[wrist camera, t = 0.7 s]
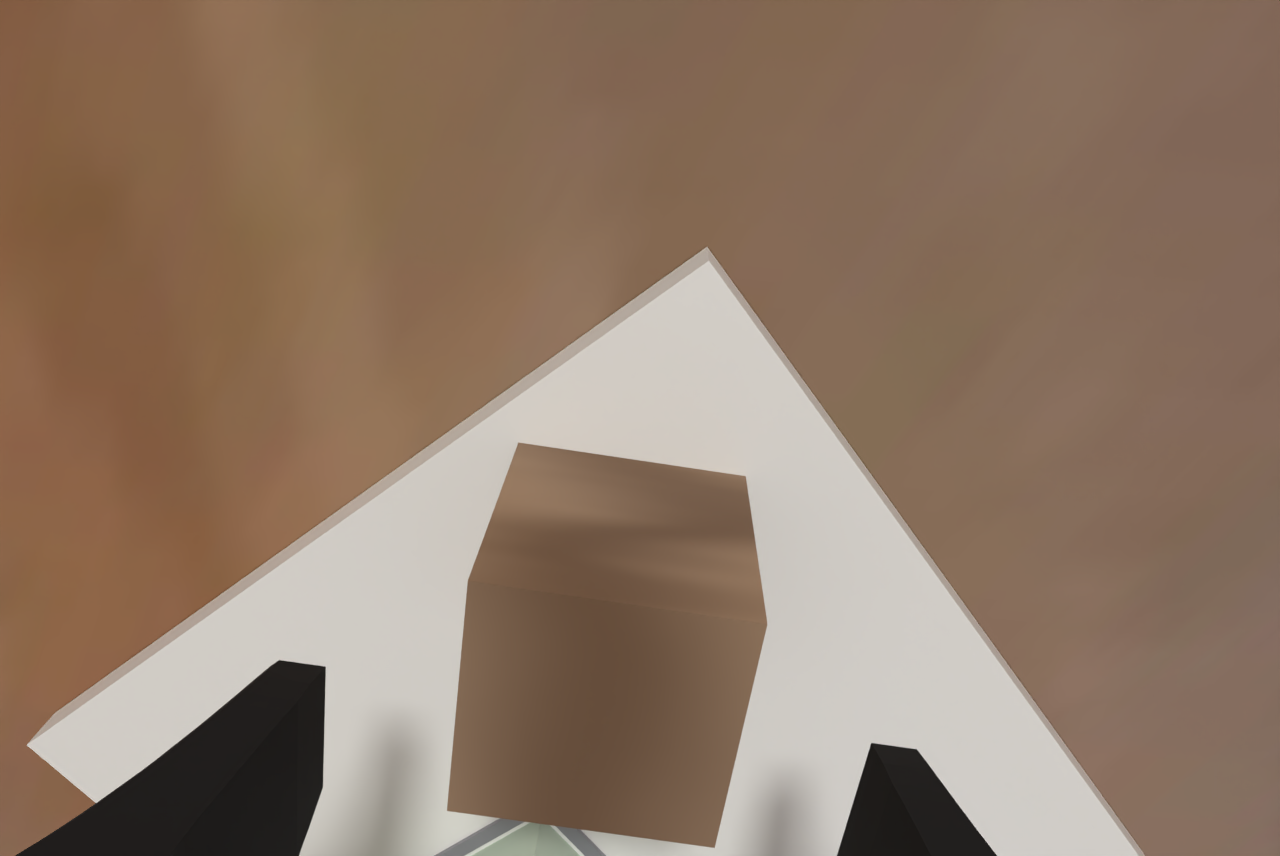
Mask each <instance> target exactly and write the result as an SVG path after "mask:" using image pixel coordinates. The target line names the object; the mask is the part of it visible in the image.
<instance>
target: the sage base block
mask: <svg viewBox="0 0 1280 856" xmlns="http://www.w3.org/2000/svg"><path fill="white" fill-rule="evenodd" d="M471 856H580V855H579V854H578V853H577V852H576V851H575V850H574V849H573V848H572V847H571V846H570V845H569V844H568V843H567V842H566V841H565V840H564V839H563V838H562V837H561V836H560V835H559V834H558V833H557V832H556V831H555V830H554V829H553V828H552V827H551V826H550V825H545V824H538V823H528V824H527V825H525V826H523V827H521V828H520V829H518V830H516V831H514V832H512V833H511V834H509V835H507V836H505V837H503V838H502V839H500V840H498V841H496V842H495V843H493V844H491V845H489V846H487V847H486V848H484V849H482V850H480V851H479V852H477V853H475V854H473V855H471Z"/></svg>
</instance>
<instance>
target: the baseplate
mask: <svg viewBox="0 0 1280 856" xmlns="http://www.w3.org/2000/svg"><path fill="white" fill-rule="evenodd" d="M518 442H519V443H525V444H532V445H539V446H546V447H552V448H559V449H566V450H573V451H579V452H586V453H593V454H600V455H606V456H613V457H620V458H627V459H633V460H640V461H647V462H654V463H660V464H667V465H674V466H681V467H687V468H694V469H701V470H708V471H714V472H721V473H728V474H735V475H741V476H746V481H747V488H748V495H749V502H750V508H751V515H752V522H753V529H754V536H755V542H756V549H757V556H758V563H759V570H760V576H761V583H762V590H763V597H764V604H765V611H766V617H767V628H766V633H765V637H764V641H763V645H762V649H761V654H760V658H759V662H758V666H757V671H756V675H755V679H754V683H753V688H752V692H751V696H750V700H749V705H748V709H747V713H746V717H745V722H744V726H743V730H742V734H741V738H740V743H739V747H738V751H737V755H736V760H735V764H734V768H733V772H732V777H731V781H730V785H729V789H728V794H727V798H726V802H725V806H724V810H723V815H722V819H721V823H720V827H719V832H718V836H717V840H716V844H715V848H711V847H704V846H697V845H689V844H682V843H675V842H668V841H660V840H653V839H646V838H639V837H632V836H624V835H617V834H610V833H603V832H595V831H588V830H581V829H574V828H567V827H559V826H552V825H550V826H551V827H552V828H553V829H554V830H555V831H556V832H557V833H558V834H559V835H560V836H561V837H562V838H563V839H564V840H565V841H566V842H567V843H568V844H569V845H570V846H571V847H572V848H573V849H574V850H575V851H576V852H577V853H578V854H579V855H580V856H837V854H838V850H839V847H840V844H841V841H842V837H843V834H844V831H845V828H846V824H847V821H848V818H849V814H850V811H851V808H852V805H853V801H854V798H855V795H856V791H857V788H858V785H859V782H860V778H861V775H862V772H863V768H864V765H865V762H866V759H867V755H868V752H869V749H870V746H871V743H876V744H883V745H890V746H897V747H905V748H912V749H917V750H918V751H919V753H920V754H921V755H922V757H923V758H924V759H925V761H926V762H927V763H928V765H929V766H930V767H931V769H932V770H933V771H934V773H935V774H936V775H937V777H938V778H939V779H940V781H941V782H942V783H943V785H944V786H945V787H946V789H947V790H948V792H949V793H950V794H951V796H952V797H953V798H954V800H955V801H956V802H957V804H958V805H959V806H960V808H961V809H962V810H963V812H964V813H965V814H966V816H967V817H968V818H969V820H970V821H971V822H972V824H973V825H974V826H975V828H976V829H977V830H978V832H979V833H980V834H981V836H982V837H983V838H984V839H985V841H986V842H987V843H988V845H989V846H990V847H991V849H992V850H993V851H994V852H995V854H996V855H997V856H1145V855H1144V854H1143V852H1142V850H1141V849H1140V848H1139V846H1138V845H1137V844H1136V842H1135V841H1134V839H1133V838H1132V837H1131V835H1130V834H1129V832H1128V831H1127V830H1126V828H1125V827H1124V825H1123V824H1122V823H1121V821H1120V820H1119V818H1118V817H1117V816H1116V814H1115V813H1114V812H1113V810H1112V809H1111V807H1110V806H1109V805H1108V803H1107V802H1106V800H1105V799H1104V798H1103V796H1102V795H1101V793H1100V792H1099V791H1098V789H1097V788H1096V787H1095V785H1094V784H1093V782H1092V781H1091V780H1090V778H1089V777H1088V775H1087V774H1086V773H1085V771H1084V770H1083V768H1082V767H1081V766H1080V764H1079V763H1078V762H1077V760H1076V759H1075V757H1074V756H1073V755H1072V753H1071V752H1070V750H1069V749H1068V748H1067V746H1066V745H1065V743H1064V742H1063V741H1062V739H1061V738H1060V736H1059V735H1058V734H1057V732H1056V731H1055V730H1054V728H1053V727H1052V725H1051V724H1050V723H1049V721H1048V720H1047V718H1046V717H1045V716H1044V714H1043V713H1042V711H1041V710H1040V709H1039V707H1038V706H1037V705H1036V703H1035V702H1034V700H1033V699H1032V698H1031V696H1030V695H1029V693H1028V692H1027V691H1026V689H1025V688H1024V686H1023V685H1022V684H1021V682H1020V681H1019V680H1018V678H1017V677H1016V675H1015V674H1014V673H1013V671H1012V670H1011V668H1010V667H1009V666H1008V664H1007V663H1006V661H1005V660H1004V659H1003V657H1002V656H1001V654H1000V653H999V652H998V650H997V649H996V648H995V646H994V645H993V643H992V642H991V641H990V639H989V638H988V636H987V635H986V634H985V632H984V631H983V629H982V628H981V627H980V625H979V624H978V623H977V621H976V620H975V618H974V617H973V616H972V614H971V613H970V611H969V610H968V609H967V607H966V606H965V604H964V603H963V602H962V600H961V599H960V598H959V596H958V595H957V593H956V592H955V591H954V589H953V588H952V586H951V585H950V584H949V582H948V581H947V579H946V578H945V577H944V575H943V574H942V572H941V571H940V570H939V568H938V567H937V566H936V564H935V563H934V561H933V560H932V559H931V557H930V556H929V554H928V553H927V552H926V550H925V549H924V547H923V546H922V545H921V543H920V542H919V541H918V539H917V538H916V536H915V535H914V534H913V532H912V531H911V529H910V528H909V527H908V525H907V524H906V522H905V521H904V520H903V518H902V517H901V516H900V514H899V513H898V511H897V510H896V509H895V507H894V506H893V504H892V503H891V502H890V500H889V499H888V497H887V496H886V495H885V493H884V492H883V490H882V489H881V488H880V486H879V485H878V484H877V482H876V481H875V479H874V478H873V477H872V475H871V474H870V472H869V471H868V470H867V468H866V467H865V465H864V464H863V463H862V461H861V460H860V459H859V457H858V456H857V454H856V453H855V452H854V450H853V449H852V447H851V446H850V445H849V443H848V442H847V440H846V439H845V438H844V436H843V435H842V434H841V432H840V431H839V429H838V428H837V427H836V425H835V424H834V422H833V421H832V420H831V418H830V417H829V415H828V414H827V413H826V411H825V410H824V408H823V407H822V406H821V404H820V403H819V402H818V400H817V399H816V397H815V396H814V395H813V393H812V392H811V390H810V389H809V388H808V386H807V385H806V383H805V382H804V381H803V379H802V378H801V377H800V375H799V374H798V372H797V371H796V370H795V368H794V367H793V365H792V364H791V363H790V361H789V360H788V358H787V357H786V356H785V354H784V353H783V352H782V350H781V349H780V347H779V346H778V345H777V343H776V342H775V340H774V339H773V338H772V336H771V335H770V333H769V332H768V331H767V329H766V328H765V326H764V325H763V324H762V322H761V321H760V320H759V318H758V317H757V315H756V314H755V313H754V311H753V310H752V308H751V307H750V306H749V304H748V303H747V301H746V300H745V299H744V297H743V296H742V295H741V293H740V292H739V290H738V289H737V288H736V286H735V285H734V283H733V282H732V281H731V279H730V278H729V276H728V275H727V274H726V272H725V271H724V270H723V268H722V267H721V265H720V264H719V263H718V261H717V260H716V258H715V257H714V256H713V254H712V253H711V251H710V250H709V249H708V247H706V248H705V249H703V250H702V251H700V252H699V253H698V254H696V255H695V256H693V257H692V258H691V259H689V260H688V261H686V262H685V263H684V264H682V265H681V266H679V267H678V268H677V269H675V270H674V271H672V272H671V273H670V274H668V275H667V276H665V277H664V278H663V279H661V280H660V281H658V282H657V283H656V284H654V285H653V286H651V287H650V288H649V289H647V290H646V291H644V292H643V293H642V294H640V295H639V296H637V297H636V298H635V299H633V300H632V301H630V302H629V303H628V304H626V305H625V306H623V307H622V308H621V309H619V310H618V311H616V312H615V313H614V314H612V315H611V316H609V317H608V318H607V319H605V320H604V321H602V322H601V323H600V324H598V325H597V326H596V327H594V328H593V329H591V330H590V331H589V332H587V333H586V334H584V335H583V336H582V337H580V338H579V339H577V340H576V341H575V342H573V343H572V344H570V345H569V346H568V347H566V348H565V349H563V350H562V351H561V352H559V353H558V354H556V355H555V356H554V357H552V358H551V359H549V360H548V361H547V362H545V363H544V364H542V365H541V366H540V367H538V368H537V369H535V370H534V371H533V372H531V373H530V374H528V375H527V376H526V377H524V378H523V379H521V380H520V381H519V382H517V383H516V384H514V385H513V386H512V387H510V388H509V389H507V390H506V391H505V392H503V393H502V394H500V395H499V396H498V397H496V398H495V399H493V400H492V401H491V402H489V403H488V404H486V405H485V406H484V407H482V408H481V409H479V410H478V411H477V412H475V413H474V414H472V415H471V416H470V417H468V418H467V419H465V420H464V421H463V422H461V423H460V424H458V425H457V426H456V427H454V428H453V429H451V430H450V431H449V432H447V433H446V434H444V435H443V436H442V437H440V438H439V439H437V440H436V441H435V442H433V443H432V444H430V445H429V446H428V447H426V448H425V449H423V450H422V451H421V452H419V453H418V454H416V455H415V456H414V457H412V458H411V459H409V460H408V461H407V462H405V463H404V464H402V465H401V466H400V467H398V468H397V469H395V470H394V471H393V472H391V473H390V474H388V475H387V476H386V477H384V478H383V479H381V480H380V481H379V482H377V483H376V484H374V485H373V486H372V487H370V488H369V489H367V490H366V491H365V492H363V493H362V494H360V495H359V496H358V497H356V498H355V499H354V500H352V501H351V502H349V503H348V504H347V505H345V506H344V507H342V508H341V509H340V510H338V511H337V512H335V513H334V514H333V515H331V516H330V517H328V518H327V519H326V520H324V521H323V522H321V523H320V524H319V525H317V526H316V527H314V528H313V529H312V530H310V531H309V532H307V533H306V534H305V535H303V536H302V537H300V538H299V539H298V540H296V541H295V542H293V543H292V544H291V545H289V546H288V547H286V548H285V549H284V550H282V551H281V552H279V553H278V554H277V555H275V556H274V557H272V558H271V559H270V560H268V561H267V562H265V563H264V564H263V565H261V566H260V567H258V568H257V569H256V570H254V571H253V572H251V573H250V574H249V575H247V576H246V577H244V578H243V579H242V580H240V581H239V582H237V583H236V584H235V585H233V586H232V587H230V588H229V589H228V590H226V591H225V592H223V593H222V594H221V595H219V596H218V597H216V598H215V599H214V600H212V601H211V602H209V603H208V604H207V605H205V606H204V607H202V608H201V609H200V610H198V611H197V612H195V613H194V614H193V615H191V616H190V617H188V618H187V619H186V620H184V621H183V622H181V623H180V624H179V625H177V626H176V627H174V628H173V629H172V630H170V631H169V632H167V633H166V634H165V635H163V636H162V637H160V638H159V639H158V640H156V641H155V642H153V643H152V644H151V645H149V646H148V647H146V648H145V649H144V650H142V651H141V652H139V653H138V654H137V655H135V656H134V657H132V658H131V659H130V660H128V661H127V662H125V663H124V664H123V665H121V666H120V667H118V668H117V669H116V670H114V671H113V672H112V673H110V674H109V675H107V676H106V677H105V678H103V679H102V680H100V681H99V682H98V683H96V684H95V685H93V686H92V687H91V688H89V689H88V690H86V691H85V692H84V693H82V694H81V695H79V696H78V697H77V698H75V699H74V700H72V701H71V702H70V703H68V704H67V705H65V706H64V707H63V708H61V709H60V710H58V711H57V712H56V713H54V715H53V716H52V717H51V718H50V719H49V720H48V721H47V723H46V724H45V725H44V726H43V727H42V728H41V729H40V730H39V732H38V733H37V734H36V735H35V736H34V737H33V738H32V739H31V741H30V742H29V743H28V744H27V746H28V747H30V748H31V749H32V750H33V751H34V752H36V753H37V754H38V755H39V756H40V757H42V758H43V759H44V760H45V761H46V762H48V763H49V764H50V765H51V766H52V767H54V768H55V769H56V770H57V771H58V772H59V773H61V774H62V775H63V776H64V777H65V778H67V779H68V780H69V781H70V782H71V783H73V784H74V785H75V786H76V787H77V788H79V789H80V790H81V791H82V792H83V793H85V794H86V795H87V796H88V797H89V798H91V799H92V800H93V801H94V802H95V803H97V802H98V801H100V800H101V799H103V798H104V797H105V796H107V795H108V794H110V793H111V792H112V791H114V790H115V789H117V788H118V787H119V786H121V785H122V784H124V783H125V782H126V781H128V780H129V779H131V778H132V777H133V776H135V775H136V774H138V773H139V772H140V771H142V770H143V769H144V768H146V767H147V766H148V765H150V764H151V763H152V762H154V761H155V760H156V759H157V758H159V757H160V756H161V755H163V754H164V753H165V752H166V751H168V750H169V749H170V748H171V747H173V746H174V745H175V744H176V743H178V742H179V741H180V740H182V739H183V738H184V737H185V736H187V735H188V734H189V733H190V732H192V731H193V730H194V729H196V728H197V727H198V726H199V725H201V724H202V723H203V722H204V721H205V720H207V719H208V718H209V717H210V716H211V715H213V714H214V713H215V712H216V711H217V710H219V709H220V708H221V707H222V706H224V705H225V704H226V703H227V702H228V701H230V700H231V699H232V698H233V697H234V696H235V695H237V694H238V693H239V692H240V691H241V690H243V689H244V688H245V687H246V686H247V685H248V684H250V683H251V682H252V681H253V680H254V679H256V678H257V677H258V676H259V675H260V674H261V673H263V672H264V671H265V670H266V669H267V668H269V667H270V666H271V665H273V664H274V663H276V662H277V661H279V660H282V661H289V662H297V663H304V664H311V665H318V666H325V667H326V680H325V722H324V764H323V789H322V792H321V795H320V798H319V800H318V803H317V806H316V809H315V812H314V815H313V818H312V821H311V824H310V826H309V829H308V832H307V835H306V837H305V840H304V843H303V846H302V848H301V851H300V854H299V856H471V855H473V854H475V853H477V852H479V851H480V850H482V849H484V848H486V847H487V846H489V845H491V844H493V843H495V842H496V841H498V840H500V839H502V838H503V837H505V836H507V835H509V834H511V833H512V832H514V831H516V830H518V829H520V828H521V827H523V826H525V825H527V824H528V823H530V822H523V821H516V820H509V819H502V818H494V817H487V816H480V815H473V814H465V813H458V812H451V811H447V803H448V792H449V781H450V770H451V759H452V748H453V737H454V726H455V715H456V704H457V693H458V682H459V671H460V660H461V649H462V638H463V627H464V616H465V605H466V594H467V583H468V579H469V576H470V573H471V570H472V568H473V565H474V562H475V560H476V557H477V554H478V551H479V549H480V546H481V543H482V540H483V538H484V535H485V532H486V530H487V527H488V524H489V521H490V519H491V516H492V513H493V510H494V508H495V505H496V502H497V500H498V497H499V494H500V491H501V489H502V486H503V483H504V480H505V478H506V475H507V472H508V470H509V467H510V464H511V461H512V459H513V456H514V453H515V450H516V448H517V445H518Z"/></svg>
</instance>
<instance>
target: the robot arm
mask: <svg viewBox="0 0 1280 856" xmlns="http://www.w3.org/2000/svg"><path fill="white" fill-rule="evenodd" d="M325 680H326V667H325V666H318V665H311V664H304V663H297V662H289V661H282V660H279V661H277V662H276V663H274V664H273V665H271V666H270V667H269V668H267V669H266V670H265V671H264V672H263V673H261V674H260V675H259V676H258V677H257V678H256V679H254V680H253V681H252V682H251V683H250V684H248V685H247V686H246V687H245V688H244V689H243V690H241V691H240V692H239V693H238V694H237V695H235V696H234V697H233V698H232V699H231V700H230V701H228V702H227V703H226V704H225V705H224V706H222V707H221V708H220V709H219V710H217V711H216V712H215V713H214V714H213V715H211V716H210V717H209V718H208V719H207V720H205V721H204V722H203V723H202V724H201V725H199V726H198V727H197V728H196V729H194V730H193V731H192V732H190V733H189V734H188V735H187V736H185V737H184V738H183V739H182V740H180V741H179V742H178V743H176V744H175V745H174V746H173V747H171V748H170V749H169V750H168V751H166V752H165V753H164V754H163V755H161V756H160V757H159V758H157V759H156V760H155V761H154V762H152V763H151V764H150V765H148V766H147V767H146V768H144V769H143V770H142V771H140V772H139V773H138V774H136V775H135V776H133V777H132V778H131V779H129V780H128V781H126V782H125V783H124V784H122V785H121V786H119V787H118V788H117V789H115V790H114V791H112V792H111V793H110V794H108V795H107V796H105V797H104V798H103V799H101V800H100V801H98V802H97V803H96V804H94V805H93V806H91V807H90V808H89V809H87V810H86V811H84V812H83V813H81V814H80V815H78V816H77V817H75V818H74V819H72V820H71V821H69V822H68V823H66V824H65V825H63V826H62V827H60V828H59V829H57V830H56V831H54V832H53V833H51V834H50V835H48V836H46V837H45V838H43V839H42V840H40V841H39V842H37V843H35V844H34V845H32V846H30V847H29V848H27V849H25V850H24V851H22V852H21V853H19V854H17V855H16V856H299V854H300V851H301V848H302V846H303V843H304V840H305V837H306V835H307V832H308V829H309V826H310V824H311V821H312V818H313V815H314V812H315V809H316V806H317V803H318V800H319V798H320V795H321V792H322V789H323V764H324V722H325ZM837 856H997V855H996V854H995V852H994V851H993V850H992V849H991V847H990V846H989V845H988V843H987V842H986V841H985V839H984V838H983V837H982V836H981V834H980V833H979V832H978V830H977V829H976V828H975V826H974V825H973V824H972V822H971V821H970V820H969V818H968V817H967V816H966V814H965V813H964V812H963V810H962V809H961V808H960V806H959V805H958V804H957V802H956V801H955V800H954V798H953V797H952V796H951V794H950V793H949V792H948V790H947V789H946V787H945V786H944V785H943V783H942V782H941V781H940V779H939V778H938V777H937V775H936V774H935V773H934V771H933V770H932V769H931V767H930V766H929V765H928V763H927V762H926V761H925V759H924V758H923V757H922V755H921V754H920V753H919V751H918V750H917V749H912V748H905V747H897V746H890V745H883V744H876V743H871V746H870V749H869V752H868V755H867V759H866V762H865V765H864V768H863V772H862V775H861V778H860V782H859V785H858V788H857V791H856V795H855V798H854V801H853V805H852V808H851V811H850V814H849V818H848V821H847V824H846V828H845V831H844V834H843V837H842V841H841V844H840V847H839V850H838V854H837Z"/></svg>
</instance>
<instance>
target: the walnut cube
mask: <svg viewBox="0 0 1280 856" xmlns="http://www.w3.org/2000/svg"><path fill="white" fill-rule="evenodd" d="M766 628H767V617H766V611H765V604H764V597H763V590H762V583H761V576H760V570H759V563H758V556H757V549H756V542H755V536H754V529H753V522H752V515H751V508H750V502H749V495H748V488H747V481H746V476H741V475H735V474H728V473H721V472H714V471H708V470H701V469H694V468H687V467H681V466H674V465H667V464H660V463H654V462H647V461H640V460H633V459H627V458H620V457H613V456H606V455H600V454H593V453H586V452H579V451H573V450H566V449H559V448H552V447H546V446H539V445H532V444H525V443H519V442H518V445H517V448H516V450H515V453H514V456H513V459H512V461H511V464H510V467H509V470H508V472H507V475H506V478H505V480H504V483H503V486H502V489H501V491H500V494H499V497H498V500H497V502H496V505H495V508H494V510H493V513H492V516H491V519H490V521H489V524H488V527H487V530H486V532H485V535H484V538H483V540H482V543H481V546H480V549H479V551H478V554H477V557H476V560H475V562H474V565H473V568H472V570H471V573H470V576H469V579H468V583H467V594H466V605H465V616H464V627H463V638H462V649H461V660H460V671H459V682H458V693H457V704H456V715H455V726H454V737H453V748H452V759H451V770H450V781H449V792H448V803H447V811H451V812H458V813H465V814H473V815H480V816H487V817H494V818H502V819H509V820H516V821H523V822H530V823H538V824H545V825H552V826H559V827H567V828H574V829H581V830H588V831H595V832H603V833H610V834H617V835H624V836H632V837H639V838H646V839H653V840H660V841H668V842H675V843H682V844H689V845H697V846H704V847H711V848H715V844H716V840H717V836H718V832H719V827H720V823H721V819H722V815H723V810H724V806H725V802H726V798H727V794H728V789H729V785H730V781H731V777H732V772H733V768H734V764H735V760H736V755H737V751H738V747H739V743H740V738H741V734H742V730H743V726H744V722H745V717H746V713H747V709H748V705H749V700H750V696H751V692H752V688H753V683H754V679H755V675H756V671H757V666H758V662H759V658H760V654H761V649H762V645H763V641H764V637H765V633H766Z"/></svg>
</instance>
